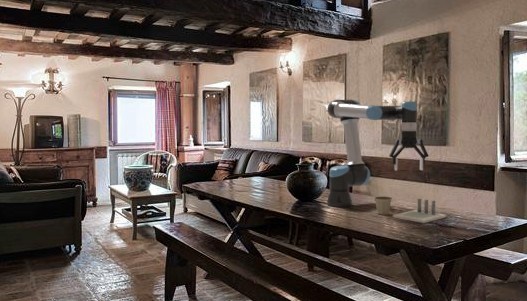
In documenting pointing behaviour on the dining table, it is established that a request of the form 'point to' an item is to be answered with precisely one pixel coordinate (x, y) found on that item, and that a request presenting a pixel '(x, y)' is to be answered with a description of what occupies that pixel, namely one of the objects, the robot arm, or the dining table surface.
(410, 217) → the board
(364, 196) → the dining table surface
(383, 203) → the flower pot
